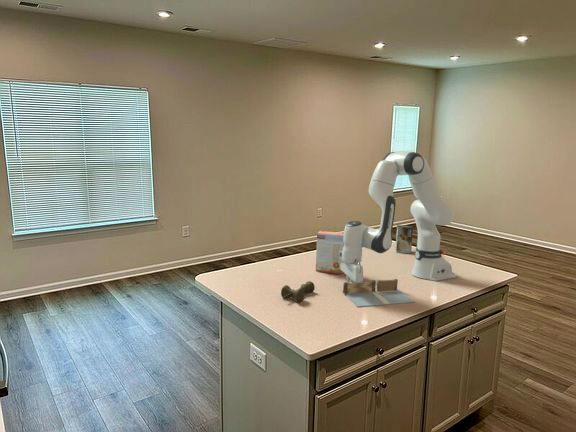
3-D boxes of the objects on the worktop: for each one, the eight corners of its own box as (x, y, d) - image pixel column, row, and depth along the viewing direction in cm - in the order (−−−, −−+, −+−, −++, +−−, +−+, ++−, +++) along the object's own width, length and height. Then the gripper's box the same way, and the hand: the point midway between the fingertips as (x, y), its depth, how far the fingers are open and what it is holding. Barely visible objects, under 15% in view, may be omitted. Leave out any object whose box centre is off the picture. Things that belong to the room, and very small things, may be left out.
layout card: (395, 287, 208) (396, 276, 207) (414, 302, 191) (416, 290, 190) (342, 291, 202) (342, 280, 201) (357, 307, 185) (358, 294, 183)
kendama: (319, 294, 199) (292, 306, 183) (302, 290, 205) (274, 301, 189) (319, 282, 198) (292, 293, 182) (302, 277, 204) (275, 288, 188)
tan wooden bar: (374, 289, 203) (374, 279, 202) (375, 291, 201) (376, 281, 200) (342, 292, 199) (343, 281, 198) (343, 293, 197) (344, 283, 196)
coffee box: (410, 250, 273) (412, 225, 270) (411, 253, 267) (413, 228, 263) (395, 249, 274) (397, 224, 271) (395, 252, 268) (397, 227, 265)
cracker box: (343, 271, 230) (346, 232, 226) (341, 274, 225) (343, 235, 220) (318, 267, 235) (319, 230, 230) (315, 271, 229) (316, 232, 225)
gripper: (367, 263, 190) (365, 293, 193) (350, 250, 210) (348, 277, 212) (354, 264, 189) (352, 294, 191) (337, 250, 208) (336, 278, 211)
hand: (350, 285), depth 202 cm, fingers closed
